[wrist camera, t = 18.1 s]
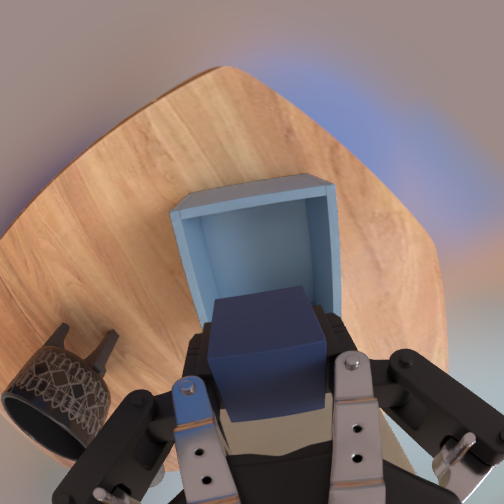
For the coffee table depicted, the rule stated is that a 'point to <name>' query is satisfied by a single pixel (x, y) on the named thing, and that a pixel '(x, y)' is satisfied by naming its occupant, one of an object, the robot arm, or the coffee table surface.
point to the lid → (300, 434)
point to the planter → (61, 395)
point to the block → (267, 354)
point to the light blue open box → (260, 241)
